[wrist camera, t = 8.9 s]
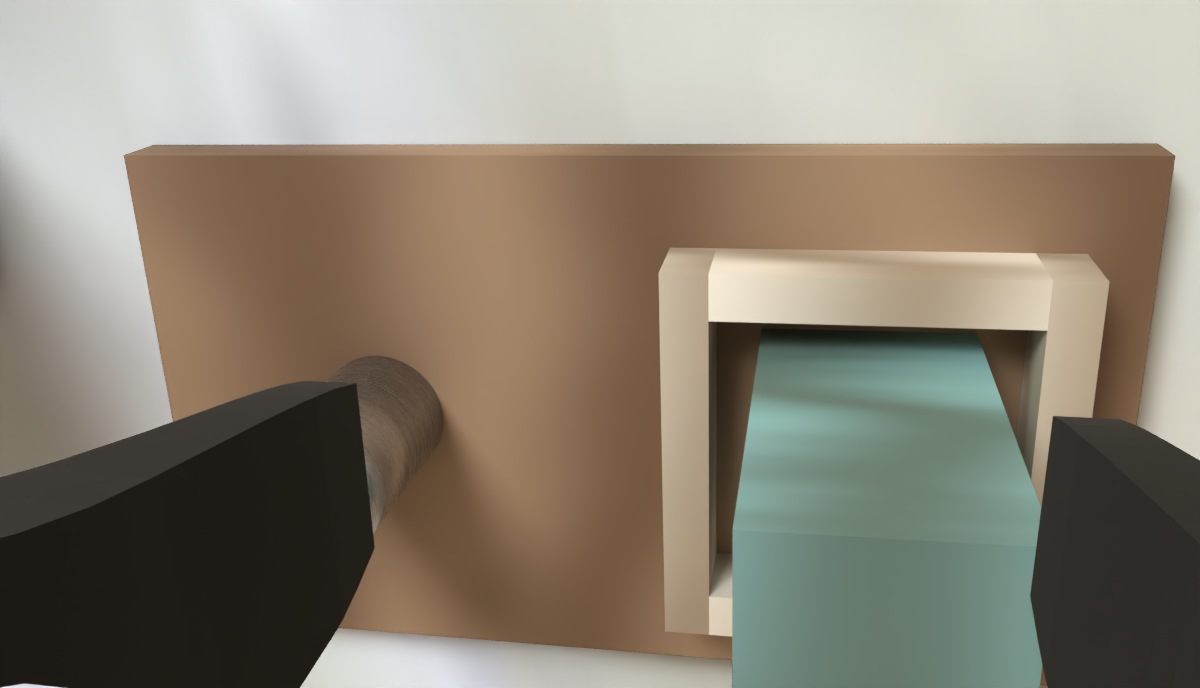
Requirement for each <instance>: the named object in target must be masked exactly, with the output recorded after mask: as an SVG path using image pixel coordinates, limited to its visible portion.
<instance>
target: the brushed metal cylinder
mask: <svg viewBox="0 0 1200 688" xmlns="http://www.w3.org/2000/svg"><path fill="white" fill-rule="evenodd" d="M326 382H339V383H357V392H358V401H359V410H360V419H361V428H362V437H363V446H364V455H365V464H366V473H367V482H368V491H369V500H370V509H371V518H372V527H373V534H374V533H375V531H376V530H377V528H378V527H379V526H380V524H381V523H382V522H383V520H384V519H385V517H386V516H387V515H388V513H389V512H390V511H391V509H392V508H393V506H394V505H395V504H396V502H397V501H398V499H399V498H400V497H401V495H402V494H403V493H404V491H405V490H406V488H407V487H408V486H409V484H410V483H411V481H412V480H413V479H414V477H415V476H416V475H417V473H418V472H419V470H420V469H421V468H422V466H423V465H424V463H425V462H426V461H427V459H428V458H429V457H430V455H431V454H432V452H433V451H434V450H435V448H436V446H437V445H438V443H439V440H440V438H441V434H442V430H443V413H442V408H441V404H440V401H439V399H438V397H437V394H436V392H435V391H434V389H433V387H432V386H431V385H430V383H429V382H428V381H427V380H426V379H425V378H424V377H423V376H422V375H421V374H420V373H419V372H418V371H417V370H415V369H414V368H412V367H411V366H409V365H408V364H406V363H404V362H402V361H399V360H396V359H394V358H390V357H385V356H365V357H360V358H357V359H354V360H352V361H350V362H348V363H346V364H345V365H343V366H342V367H341V368H340V369H339V370H338V371H337V372H336V373H334V374H333V375H332V376H331V377H330V378H329V379H328V380H327V381H326Z"/></svg>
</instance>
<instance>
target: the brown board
mask: <svg viewBox="0 0 1200 688" xmlns="http://www.w3.org/2000/svg"><path fill="white" fill-rule="evenodd" d="M124 159H125V164H126V169H127V175H128V180H129V186H130V191H131V196H132V202H133V207H134V213H135V218H136V223H137V229H138V234H139V240H140V245H141V250H142V256H143V261H144V267H145V272H146V277H147V283H148V288H149V294H150V299H151V305H152V310H153V315H154V321H155V326H156V332H157V337H158V342H159V348H160V353H161V359H162V364H163V369H164V375H165V380H166V386H167V391H168V396H169V402H170V407H171V413H172V418H173V422H174V421H177V420H180V419H183V418H185V417H188V416H191V415H193V414H196V413H199V412H202V411H204V410H207V409H210V408H213V407H215V406H218V405H221V404H224V403H227V402H229V401H232V400H235V399H238V398H241V397H244V396H247V395H250V394H253V393H256V392H259V391H262V390H266V389H269V388H273V387H276V386H280V385H284V384H288V383H294V382H300V381H318V382H326V381H327V380H328V379H329V378H330V377H331V376H332V375H333V374H334V373H336V372H337V371H338V370H339V369H340V368H341V367H342V366H343V365H345V364H346V363H348V362H350V361H352V360H354V359H357V358H360V357H365V356H385V357H390V358H394V359H396V360H399V361H402V362H404V363H406V364H408V365H409V366H411V367H412V368H414V369H415V370H417V371H418V372H419V373H420V374H421V375H422V376H423V377H424V378H425V379H426V380H427V381H428V382H429V383H430V385H431V386H432V387H433V389H434V391H435V392H436V394H437V397H438V399H439V401H440V404H441V408H442V413H443V430H442V434H441V438H440V440H439V443H438V445H437V446H436V448H435V450H434V451H433V452H432V454H431V455H430V457H429V458H428V459H427V461H426V462H425V463H424V465H423V466H422V468H421V469H420V470H419V472H418V473H417V475H416V476H415V477H414V479H413V480H412V481H411V483H410V484H409V486H408V487H407V488H406V490H405V491H404V493H403V494H402V495H401V497H400V498H399V499H398V501H397V502H396V504H395V505H394V506H393V508H392V509H391V511H390V512H389V513H388V515H387V516H386V517H385V519H384V520H383V522H382V523H381V524H380V526H379V527H378V528H377V530H376V531H375V533H374V534H373V536H374V545H375V548H374V551H373V553H372V556H371V558H370V560H369V563H368V565H367V567H366V570H365V572H364V575H363V577H362V579H361V582H360V584H359V586H358V589H357V591H356V593H355V595H354V597H353V599H352V602H351V604H350V606H349V608H348V610H347V612H346V614H345V616H344V619H343V620H342V622H341V624H340V625H339V627H338V628H348V629H361V630H373V631H385V632H397V633H410V634H422V635H434V636H446V637H459V638H471V639H483V640H495V641H508V642H520V643H532V644H544V645H557V646H569V647H581V648H593V649H605V650H618V651H630V652H642V653H654V654H667V655H679V656H691V657H703V658H716V659H728V660H732V562H733V523H734V516H735V510H736V503H737V496H738V489H739V482H740V475H741V468H742V462H743V455H744V448H745V441H746V434H747V427H748V421H749V414H750V407H751V400H752V393H753V386H754V380H755V373H756V366H757V359H758V352H759V345H760V339H761V332H762V328H770V329H811V330H853V331H894V332H935V333H976V334H977V335H978V337H979V340H980V343H981V345H982V348H983V351H984V354H985V356H986V359H987V362H988V365H989V367H990V370H991V373H992V375H993V378H994V381H995V384H996V386H997V389H998V392H999V394H1000V397H1001V400H1002V403H1003V405H1004V408H1005V411H1006V414H1007V416H1008V419H1009V422H1010V424H1011V427H1012V430H1013V433H1014V435H1015V438H1016V441H1017V444H1018V446H1019V449H1020V452H1021V454H1022V457H1023V460H1024V463H1025V465H1026V468H1027V471H1028V473H1029V476H1030V479H1031V482H1032V484H1033V487H1034V490H1035V493H1036V495H1037V498H1038V501H1039V503H1040V506H1042V499H1043V491H1044V483H1045V475H1046V467H1047V459H1048V451H1049V443H1050V436H1051V428H1052V420H1053V416H1064V417H1086V418H1107V419H1121V420H1124V421H1126V422H1129V423H1132V424H1134V425H1136V424H1137V417H1138V410H1139V403H1140V396H1141V389H1142V382H1143V375H1144V368H1145V361H1146V354H1147V348H1148V341H1149V334H1150V327H1151V320H1152V313H1153V306H1154V299H1155V292H1156V285H1157V278H1158V271H1159V264H1160V257H1161V251H1162V244H1163V237H1164V230H1165V223H1166V216H1167V209H1168V202H1169V195H1170V188H1171V181H1172V174H1173V167H1174V160H1175V155H1173V154H1172V153H1170V152H1169V151H1168V150H1166V149H1165V148H1163V147H1162V146H1160V145H1159V144H553V145H152V146H149V147H146V148H144V149H141V150H138V151H135V152H132V153H129V154H126V155H124ZM1040 685H1046V686H1047V683H1046V680H1045V675H1044V670H1043V665H1042V672H1041V680H1040Z"/></svg>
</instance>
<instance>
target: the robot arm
mask: <svg viewBox="0 0 1200 688" xmlns="http://www.w3.org/2000/svg"><path fill="white" fill-rule="evenodd" d="M374 548H375V545H374V536H373V527H372V518H371V509H370V500H369V491H368V482H367V473H366V464H365V455H364V446H363V437H362V428H361V419H360V410H359V401H358V392H357V383H339V382H318V381H300V382H294V383H288V384H284V385H280V386H276V387H273V388H269V389H266V390H262V391H259V392H256V393H253V394H250V395H247V396H244V397H241V398H238V399H235V400H232V401H229V402H227V403H224V404H221V405H218V406H215V407H213V408H210V409H207V410H204V411H202V412H199V413H196V414H193V415H191V416H188V417H185V418H183V419H180V420H177V421H174V422H172V423H169V424H166V425H163V426H161V427H158V428H155V429H152V430H150V431H147V432H144V433H141V434H138V435H135V436H132V437H129V438H126V439H123V440H120V441H117V442H114V443H111V444H108V445H105V446H102V447H99V448H96V449H93V450H90V451H87V452H84V453H81V454H78V455H75V456H72V457H69V458H66V459H63V460H60V461H57V462H54V463H50V464H47V465H44V466H40V467H37V468H33V469H30V470H26V471H23V472H19V473H16V474H12V475H8V476H5V477H1V478H0V688H300V686H301V685H302V683H303V682H304V680H305V679H306V677H307V676H308V674H309V673H310V671H311V670H312V668H313V666H314V665H315V663H316V662H317V660H318V659H319V657H320V656H321V654H322V652H323V651H324V649H325V648H326V646H327V645H328V643H329V641H330V640H331V638H332V637H333V635H334V633H335V632H336V630H337V629H338V627H339V625H340V624H341V622H342V620H343V619H344V616H345V614H346V612H347V610H348V608H349V606H350V604H351V602H352V599H353V597H354V595H355V593H356V591H357V589H358V586H359V584H360V582H361V579H362V577H363V575H364V572H365V570H366V567H367V565H368V563H369V560H370V558H371V556H372V553H373V551H374ZM1030 598H1031V604H1032V610H1033V616H1034V621H1035V627H1036V633H1037V639H1038V644H1039V649H1040V654H1041V659H1042V665H1043V670H1044V675H1045V680H1046V683H1047V686H1048V688H1200V460H1198V459H1196V458H1194V457H1193V456H1191V455H1189V454H1187V453H1186V452H1184V451H1182V450H1181V449H1179V448H1177V447H1175V446H1174V445H1172V444H1170V443H1168V442H1167V441H1165V440H1163V439H1161V438H1159V437H1158V436H1156V435H1154V434H1152V433H1150V432H1148V431H1146V430H1144V429H1142V428H1140V427H1138V426H1136V425H1134V424H1132V423H1129V422H1126V421H1124V420H1121V419H1107V418H1086V417H1064V416H1053V420H1052V428H1051V436H1050V443H1049V451H1048V459H1047V467H1046V475H1045V483H1044V491H1043V499H1042V506H1041V514H1040V522H1039V530H1038V538H1037V546H1036V554H1035V562H1034V569H1033V577H1032V585H1031V593H1030Z"/></svg>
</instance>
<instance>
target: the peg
mask: <svg viewBox="0 0 1200 688" xmlns="http://www.w3.org/2000/svg"><path fill="white" fill-rule="evenodd" d="M1040 514H1041V506H1040V503H1039V501H1038V498H1037V495H1036V493H1035V490H1034V487H1033V484H1032V482H1031V479H1030V476H1029V473H1028V471H1027V468H1026V465H1025V463H1024V460H1023V457H1022V454H1021V452H1020V449H1019V446H1018V444H1017V441H1016V438H1015V435H1014V433H1013V430H1012V427H1011V424H1010V422H1009V419H1008V416H1007V414H1006V411H1005V408H1004V405H1003V403H1002V400H1001V397H1000V394H999V392H998V389H997V386H996V384H995V381H994V378H993V375H992V373H991V370H990V367H989V365H988V362H987V359H986V356H985V354H984V351H983V348H982V345H981V343H980V340H979V337H978V335H977V334H976V333H935V332H894V331H853V330H811V329H770V328H762V332H761V339H760V345H759V352H758V359H757V366H756V373H755V380H754V386H753V393H752V400H751V407H750V414H749V421H748V427H747V434H746V441H745V448H744V455H743V462H742V468H741V475H740V482H739V489H738V496H737V503H736V510H735V516H734V523H733V562H732V688H1040V680H1041V672H1042V659H1041V654H1040V649H1039V644H1038V639H1037V633H1036V627H1035V621H1034V616H1033V610H1032V604H1031V598H1030V593H1031V585H1032V577H1033V569H1034V562H1035V554H1036V546H1037V538H1038V530H1039V522H1040Z"/></svg>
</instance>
